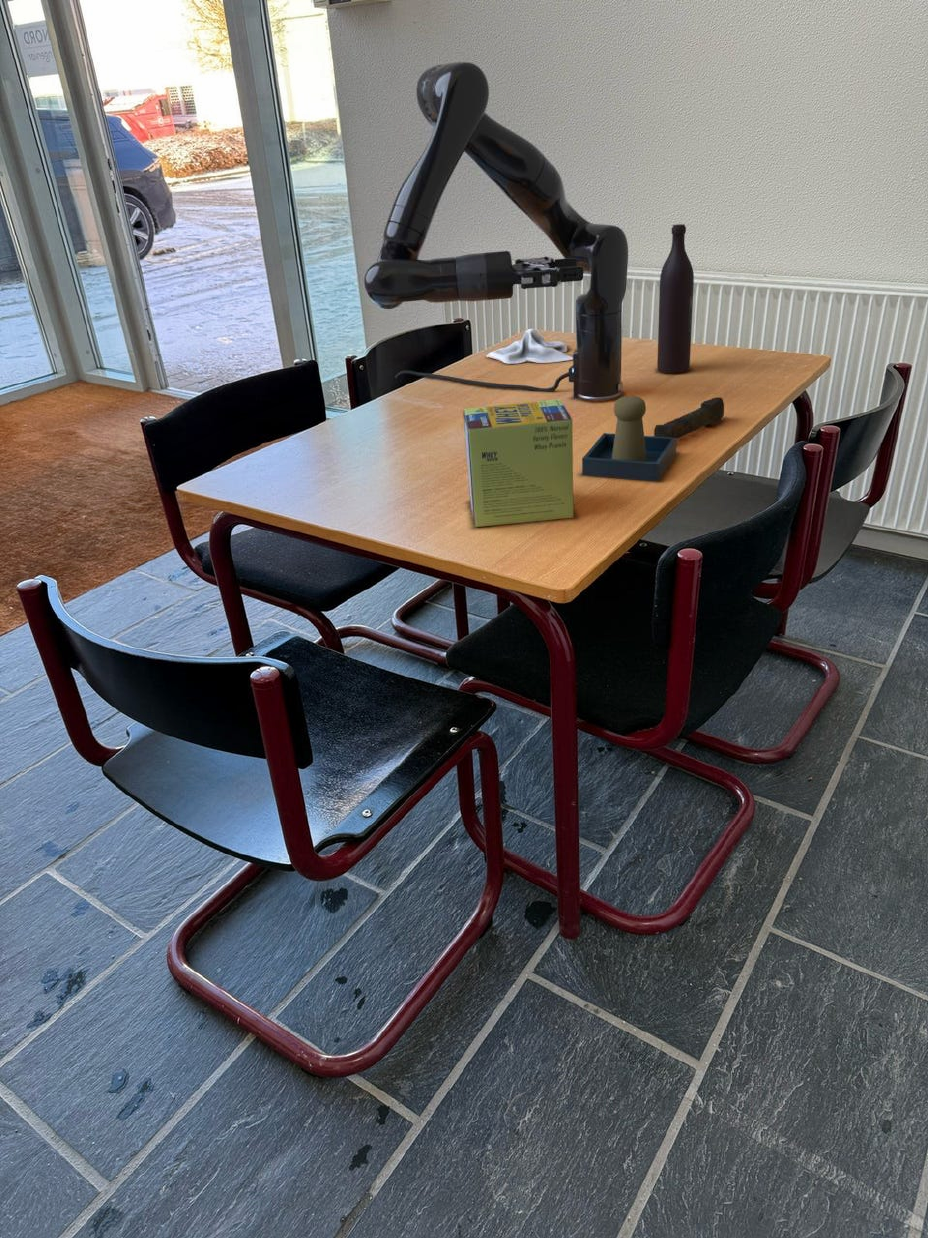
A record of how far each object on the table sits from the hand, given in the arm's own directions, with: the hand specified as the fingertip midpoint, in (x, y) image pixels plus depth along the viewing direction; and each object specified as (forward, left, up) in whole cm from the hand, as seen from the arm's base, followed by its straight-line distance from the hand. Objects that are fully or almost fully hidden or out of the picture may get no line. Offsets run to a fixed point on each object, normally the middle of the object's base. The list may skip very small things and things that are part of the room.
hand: (579, 268), depth 153 cm
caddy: (+12, -10, -30) cm, 34 cm away
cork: (+12, -10, -30) cm, 33 cm away
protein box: (0, -33, -30) cm, 45 cm away
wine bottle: (+6, +48, -30) cm, 57 cm away
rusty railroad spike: (+18, +8, -30) cm, 36 cm away
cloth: (-30, +57, -30) cm, 71 cm away
